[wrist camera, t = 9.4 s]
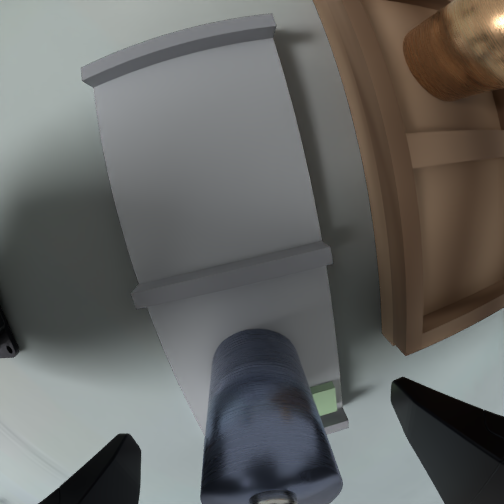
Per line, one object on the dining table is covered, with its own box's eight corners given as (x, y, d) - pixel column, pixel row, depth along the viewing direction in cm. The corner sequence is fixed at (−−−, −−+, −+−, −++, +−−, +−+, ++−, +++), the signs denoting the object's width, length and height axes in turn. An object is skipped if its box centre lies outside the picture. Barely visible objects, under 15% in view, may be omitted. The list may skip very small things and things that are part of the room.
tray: (381, 333, 13) (405, 359, 10) (310, -7, 9) (323, -36, 7) (502, 281, 13) (528, 294, 10) (453, 12, 9) (478, -2, 7)
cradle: (210, 434, 14) (208, 459, 12) (99, 76, 9) (80, 63, 8) (339, 407, 14) (348, 430, 12) (265, 31, 9) (270, 9, 8)
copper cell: (418, 101, 9) (558, 61, 2) (391, 24, 8) (494, -55, 1) (473, 102, 9) (592, 83, 2) (449, 33, 8) (549, -14, 1)
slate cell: (225, 403, 12) (225, 540, 5) (201, 338, 11) (175, 491, 4) (303, 386, 12) (346, 519, 5) (290, 319, 11) (347, 464, 4)
